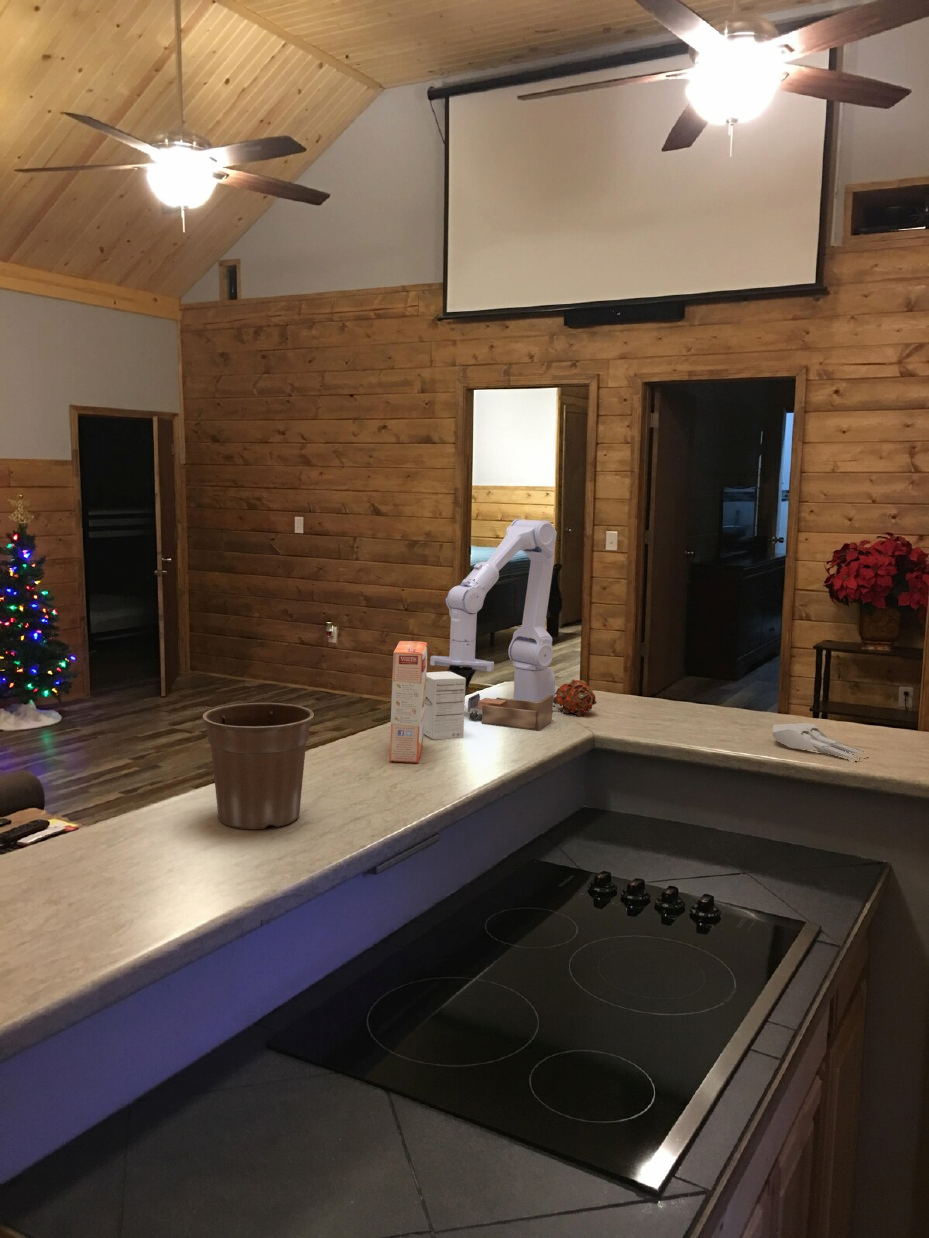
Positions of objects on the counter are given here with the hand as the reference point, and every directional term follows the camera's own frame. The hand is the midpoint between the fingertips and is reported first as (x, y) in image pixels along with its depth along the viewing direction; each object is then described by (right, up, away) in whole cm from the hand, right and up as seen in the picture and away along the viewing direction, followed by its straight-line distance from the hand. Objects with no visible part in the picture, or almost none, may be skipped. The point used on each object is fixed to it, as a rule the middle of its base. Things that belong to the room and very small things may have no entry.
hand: (460, 699), depth 225 cm
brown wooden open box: (+13, -5, -4) cm, 14 cm away
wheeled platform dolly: (+6, -4, -2) cm, 8 cm away
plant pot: (-31, -12, -73) cm, 80 cm away
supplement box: (-4, -6, -18) cm, 19 cm away
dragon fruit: (+26, -4, +8) cm, 28 cm away
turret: (+73, -9, -18) cm, 76 cm away
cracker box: (-10, -8, -33) cm, 36 cm away
